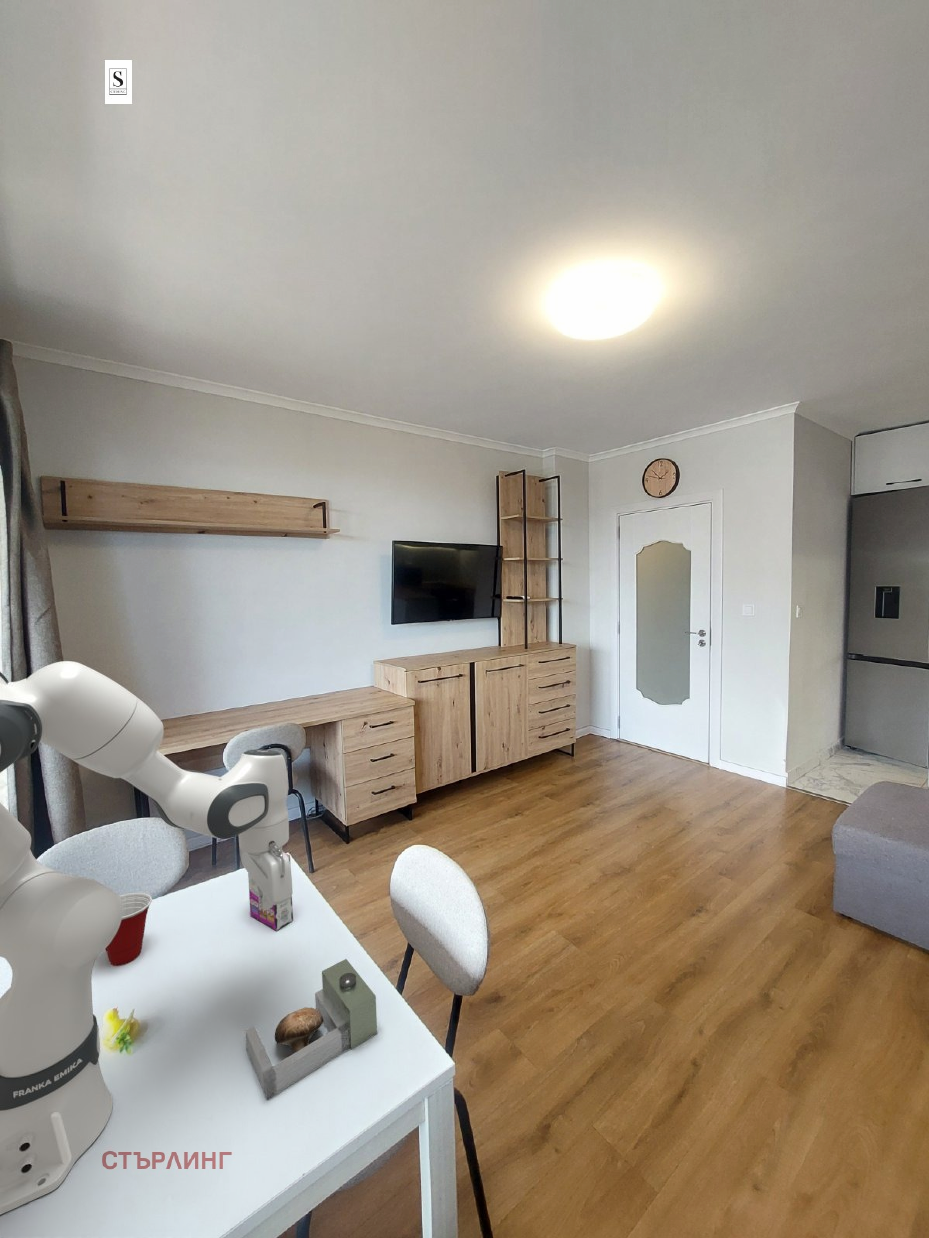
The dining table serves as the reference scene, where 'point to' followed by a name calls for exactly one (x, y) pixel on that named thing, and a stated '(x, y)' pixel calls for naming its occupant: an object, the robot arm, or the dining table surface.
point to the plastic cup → (129, 929)
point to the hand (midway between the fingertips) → (265, 905)
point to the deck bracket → (343, 1015)
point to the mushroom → (298, 1028)
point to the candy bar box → (273, 916)
